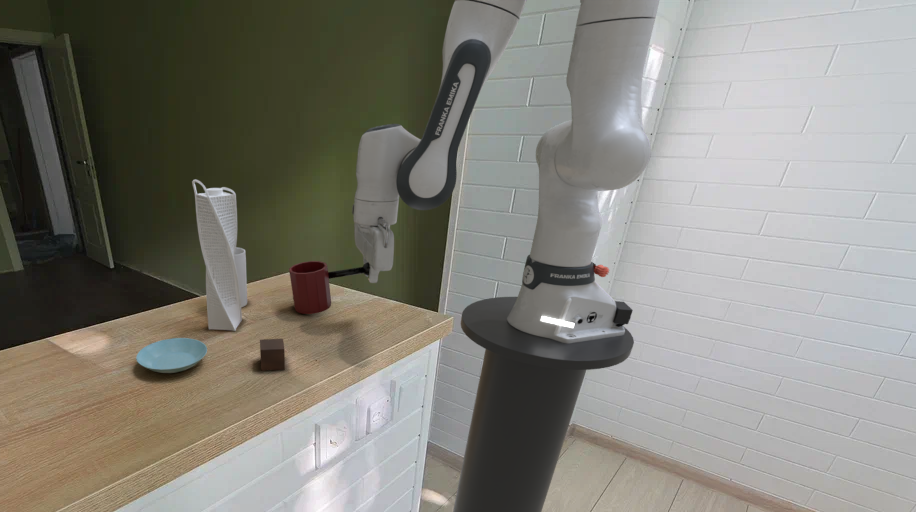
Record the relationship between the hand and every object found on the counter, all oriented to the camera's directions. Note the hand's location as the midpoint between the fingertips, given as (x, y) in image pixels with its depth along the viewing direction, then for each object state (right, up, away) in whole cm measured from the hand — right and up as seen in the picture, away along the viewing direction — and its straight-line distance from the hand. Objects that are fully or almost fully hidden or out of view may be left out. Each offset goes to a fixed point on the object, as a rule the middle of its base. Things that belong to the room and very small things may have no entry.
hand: (370, 278), depth 104 cm
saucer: (-37, -19, -21) cm, 46 cm away
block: (-20, -18, -21) cm, 34 cm away
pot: (-7, -5, +2) cm, 9 cm away
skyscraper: (-31, -11, -6) cm, 33 cm away
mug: (-31, -6, +3) cm, 31 cm away
